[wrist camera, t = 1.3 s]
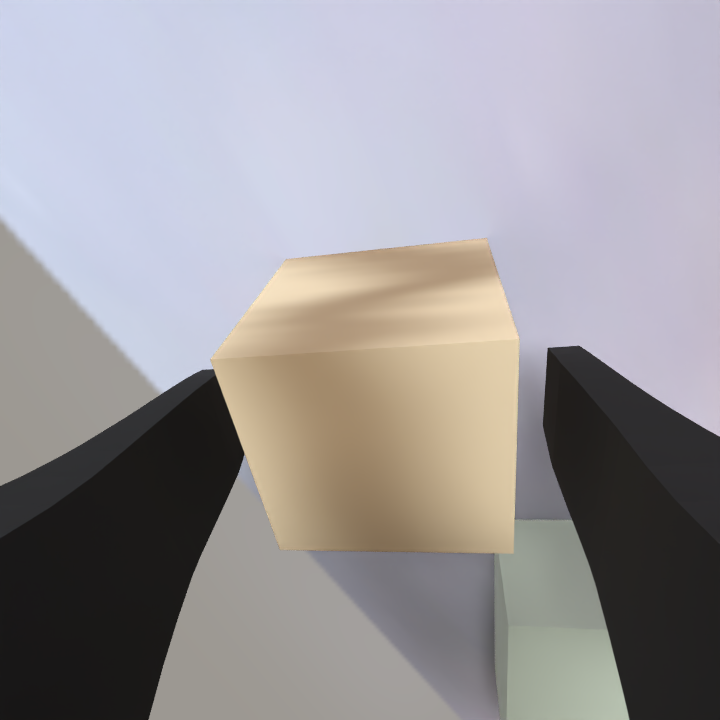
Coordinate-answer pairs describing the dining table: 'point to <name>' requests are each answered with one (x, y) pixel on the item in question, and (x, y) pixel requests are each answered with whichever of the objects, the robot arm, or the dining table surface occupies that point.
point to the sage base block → (552, 630)
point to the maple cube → (380, 400)
